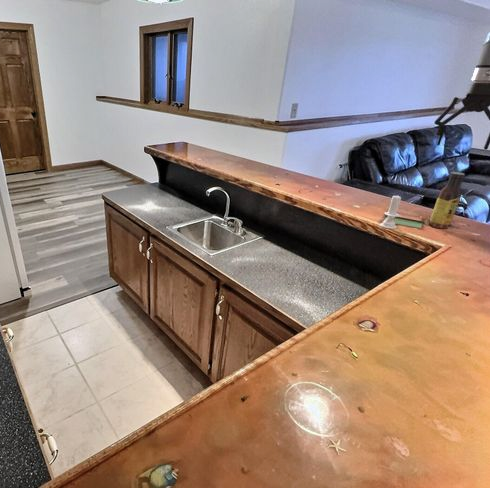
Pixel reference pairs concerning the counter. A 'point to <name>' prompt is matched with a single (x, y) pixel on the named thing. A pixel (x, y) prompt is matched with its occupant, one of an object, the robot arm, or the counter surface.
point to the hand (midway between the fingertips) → (461, 146)
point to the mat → (407, 222)
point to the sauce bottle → (447, 202)
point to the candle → (392, 213)
